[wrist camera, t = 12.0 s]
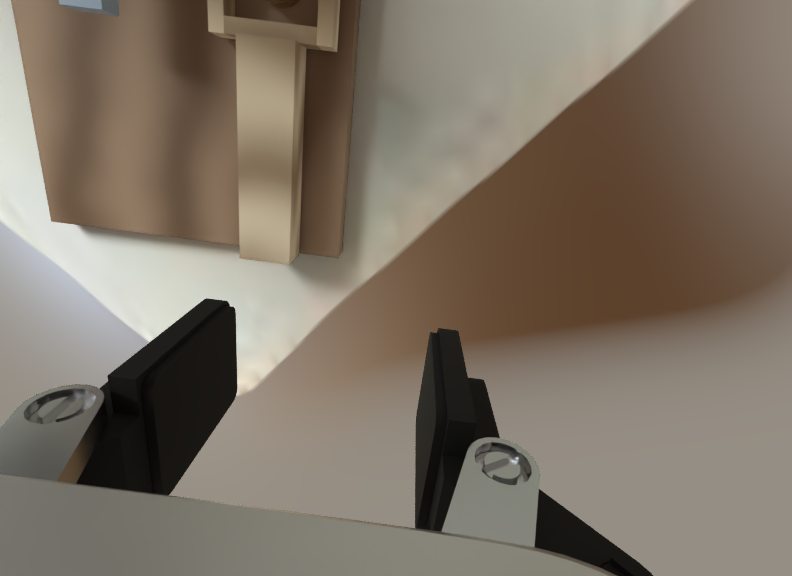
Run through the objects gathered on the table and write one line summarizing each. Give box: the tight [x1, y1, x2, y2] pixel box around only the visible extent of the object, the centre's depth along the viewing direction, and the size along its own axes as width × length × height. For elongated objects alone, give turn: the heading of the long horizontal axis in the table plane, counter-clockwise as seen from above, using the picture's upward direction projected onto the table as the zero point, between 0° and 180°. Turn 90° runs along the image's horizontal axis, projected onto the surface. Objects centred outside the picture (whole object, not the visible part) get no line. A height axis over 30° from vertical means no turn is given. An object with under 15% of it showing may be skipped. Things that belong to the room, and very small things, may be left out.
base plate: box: [11, 0, 361, 258], centre depth 24 cm, size 19×22×2 cm
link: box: [207, 0, 340, 264], centre depth 23 cm, size 18×6×2 cm, turn 173°
